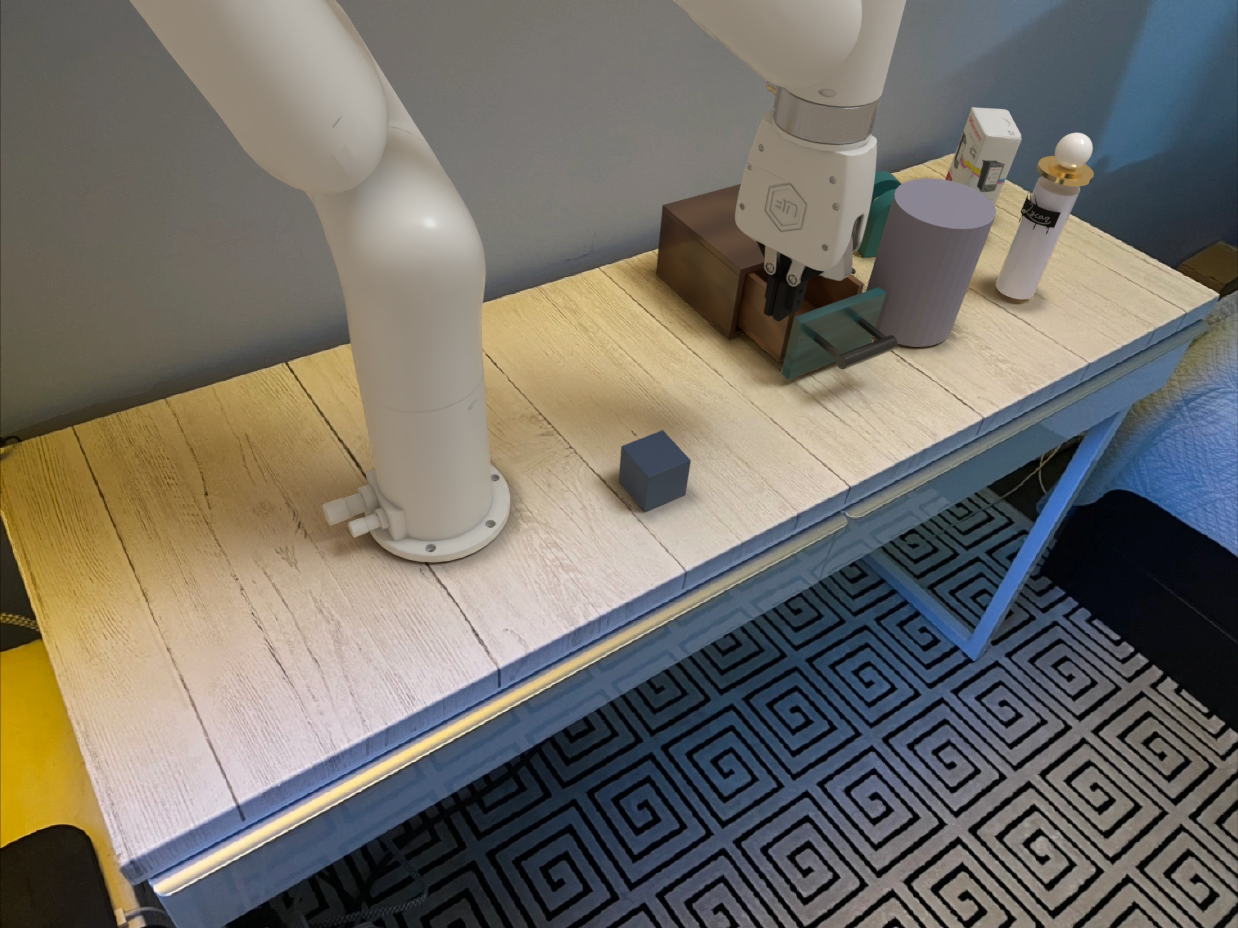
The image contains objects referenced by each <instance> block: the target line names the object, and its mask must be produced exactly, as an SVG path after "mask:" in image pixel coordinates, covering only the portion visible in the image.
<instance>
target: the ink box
mask: <svg viewBox="0 0 1238 928" xmlns="http://www.w3.org/2000/svg"><path fill="white" fill-rule="evenodd" d="M1021 142H1022V134H1021V132H1020V130H1019V128H1018V126H1017V124H1016V122H1015V121H1014V119H1013V117H1012V115H1011V113H1010V111H1009V110H1008V109H1006V108H1005V109H1004V108H990V107H974V106H972V107H971V108H970V112H969V115H968V117H967V120H966V122H965V126H964V129H963V131H962V134H961V136H960V139H959V142H958V145H957V147H956V150H955V152H954V155H953V157H952V161H951V163H950V166H949V169H948V171H947V174H946V177H945V179H944V180H948V181H953V182H957V183H960V184H963V185H966V186H968V187H971V188H973V189H975V190H977V191H979V192H980V193H982V194H983V195H985V196H986V197H987V198H988V199H989V200H990V201H991V202H992V203H993V205H994V206H995V207H996V205H997V202H998V200H999V197H1000V195H1001V193H1002V190H1003V187H1004V185H1005V182H1006V179H1007V177H1008V174H1009V172H1010V169H1011V168H1012V165H1013V163H1014V159H1015V157H1016V155H1017V152H1018V149H1019V147H1020V145H1021Z"/></svg>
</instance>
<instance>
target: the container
mask: <svg viewBox="0 0 1238 928" xmlns="http://www.w3.org/2000/svg"><path fill="white" fill-rule="evenodd" d="M996 215H997V210H996V205H995V206H994V205H993V203H992V202H991V201H990V200H989V199H988V198H987V197H986V196H985V195H983V194H982V193H980V192H979V191H977V190H975V189H973V188H971V187H968V186H966V185H963V184H960V183H957V182H953V181H948V180H945V179H942V178H929V177H927V178H917V179H916V178H915V179H911V180H908V181H905V182H903V183H901V185H900V186H899V187H898V188H897V189H896V191H895V194H894V197H893V200H892V204H891V207H890V211H889V214H888V218H887V221H886V224H885V228H884V231H883V235H882V238H881V242H880V245H879V248H878V252H877V255H876V257H875V259H874V263H873V266H872V269H871V273H870V276H869V279H868V283H867V286H866V290H865V292H866V291H869V290H871V289H874V288H877V287H879V288H881V289H882V290H883V291H885V292H886V296H885V299H884V302H883V305H882V309H881V312H880V315H879V318H878V321H877V325H876V329H878V330H879V331H880V332H881V333H883V334H884V335H885V336H886V337H887V336H889V335H893V336H894V337H895V338H896V339H897V342H898V345H902V346H905V347H906V346H907V347H916V348H918V347H919V348H923V347H931V346H934V345H938V344H941V343H942V342H944V341H946V340H947V339H948V337H949V336H950V335H951V333H952V330H953V327H954V325H955V322H956V320H957V317H958V314H959V312H960V309H961V306H962V304H963V302H964V299H965V296H966V294H967V291H968V289H969V286H970V284H971V281H972V278H973V276H974V274H975V271H976V268H977V265H978V263H979V260H980V257H981V255H982V252H983V249H984V247H985V245H986V242H987V240H988V236H989V235H990V231H991V228H992V226H993V223H994V221H995V218H996Z"/></svg>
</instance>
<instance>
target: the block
mask: <svg viewBox="0 0 1238 928" xmlns="http://www.w3.org/2000/svg"><path fill="white" fill-rule="evenodd" d="M619 458H620V459H619V460H620V461H619V471H618V482H619V483H620V485H622V487H623V488H624V489H625V490H626V492H627V493H628V494H629V496H631V498H632V499H633V500H634V501H635V503H636V504H637V505H638V507H640V508H641V510H642V511H643V512H644V513H647V512H648V511H651V510H654V509H656V508H658V507H660V506H663V505H665V504H667V503H670V502H672V501H674V500H677V499H679V498H681V497H683V496H686V494H687V488H688V481H689V474H690V468H691V461H692V460H691V458H690V457H688V455H687V454H686V453H685V452H684V451H683V449H681V447H679V446H678V444H676V442H675V441H674V440H673V439H672V438H671V437H670V436H669V435H668V433H666V431H664V430H663V429H662V430H659V431H656V432H654V433H651V434H649V435H646V436H643V437H641V438H638V439H636V440H633V441H631V442H628V443H625V444H622V445H621V446H620V457H619Z"/></svg>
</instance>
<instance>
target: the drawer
mask: <svg viewBox="0 0 1238 928" xmlns="http://www.w3.org/2000/svg"><path fill="white" fill-rule="evenodd" d="M768 276H769V274H768V273H767V272H766V271H765V268H762V269H759V270H756V271H753V272H750V273H746V274H745V278H744V284H743V289H742V295H741V301H740V306H739V312H738V318H737V323H736V325H737V326H738V327H739V328H740V329H742V330H743V331H744V332H745V333H746V334H745V335H747V337H749V338H751V340H753V341H754V342H755V343H756V344H757V345H758V346H760V347H761V348H762V349H763V350H764V351H765V352H766V353H767V354H769V356H771V357H772V358H773V359H774V360H775V361H776V362H778V363H782V362H783V364H782V367H781V372H780V375H781V376H782V377H784V378H785V379H786V380H787V381H791V380H793V379H795V378H798V377H800V376H803V375H805V374H808V373H811V372H813V371H816V370H818V369H821V368H824V367H825V366H829V365H830V364H834V363H835V364H836V366H837V367H838V368H839V369H840V370H846V369H848V368H851V367H854V366H856V365H858V364H861V363H863V362H866V361H869V360H872V359H874V358H876V357H879V356H881V355H885V354H886V353H889V352H891V351H895V350H896V349H897V348H898V346H899V344H898V342H897V339H896V338H895V337H894V336H893V335H889V336H887V337H886V336H885V335H884V334H883V333H881V332H880V331H879V330H878V329H876V325H877V321H878V318H879V315H880V312H881V309H882V305H883V302H884V299H885V296H886V292H885V291H883V290H882V289H881V288H879V287H877V288H874V289H871V290H869V291H866V290H865V291H863V290H864V287H865V283H864V282H862V281H861V280H860V279H858V277H856V276H854V274H851V275H849V276H848V277H846V278H845V279H843V280H841V281H838V280H833V279H829V278H825V277H823V276H820V275H818V276H816V277H814V278H811V279H809V280H808V282H807V286H806V290H805V295H804V299H803V303H802V306H801V307H800V309H799V310H798V311H797V312H795V313H794V314H790V315H789V316H787V317H786V318H784V319H783V320H781V321H780V322H778V321H776V320H774V319H773V317H772V316H767V315H765V314H764V313H763V312H764V307H765V302H766V299H765V291H766V286H767V281H768ZM873 338H874V339H876V340H874V341H873Z"/></svg>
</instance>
